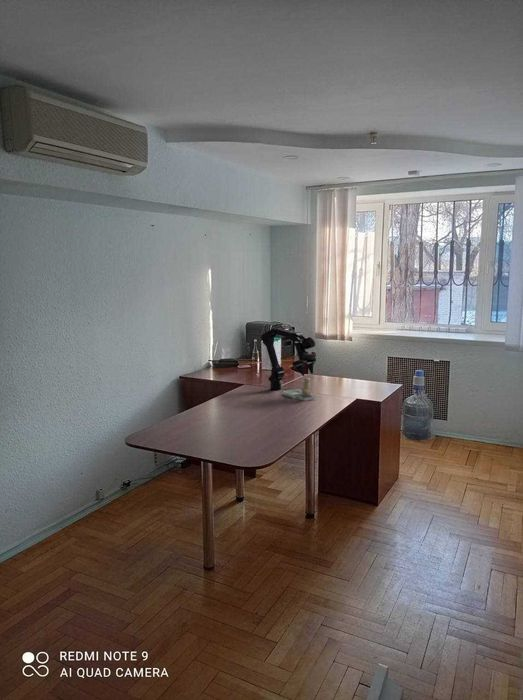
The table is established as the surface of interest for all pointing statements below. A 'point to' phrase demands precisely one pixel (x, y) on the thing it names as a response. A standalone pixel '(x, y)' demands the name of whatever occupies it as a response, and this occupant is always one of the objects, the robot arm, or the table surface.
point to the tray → (292, 393)
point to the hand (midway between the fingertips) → (308, 374)
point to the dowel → (305, 387)
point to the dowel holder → (305, 398)
